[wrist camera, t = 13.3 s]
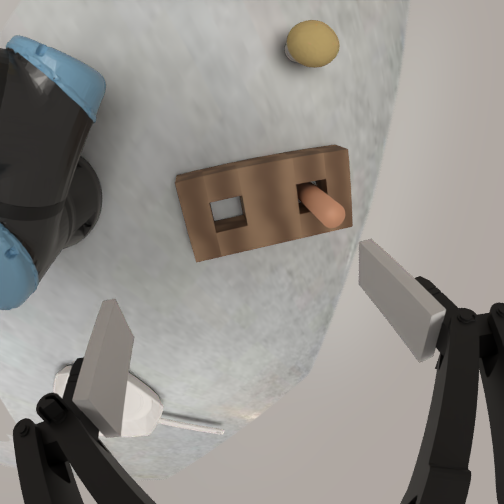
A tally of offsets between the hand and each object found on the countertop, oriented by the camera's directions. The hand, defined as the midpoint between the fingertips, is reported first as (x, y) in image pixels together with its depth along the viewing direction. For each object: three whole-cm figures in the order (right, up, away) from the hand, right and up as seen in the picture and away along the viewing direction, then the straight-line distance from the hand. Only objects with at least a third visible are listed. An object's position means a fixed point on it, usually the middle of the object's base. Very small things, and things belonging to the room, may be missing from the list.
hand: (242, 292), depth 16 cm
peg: (+8, +12, +32) cm, 35 cm away
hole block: (+2, +10, +31) cm, 33 cm away
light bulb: (+7, +31, +22) cm, 38 cm away
